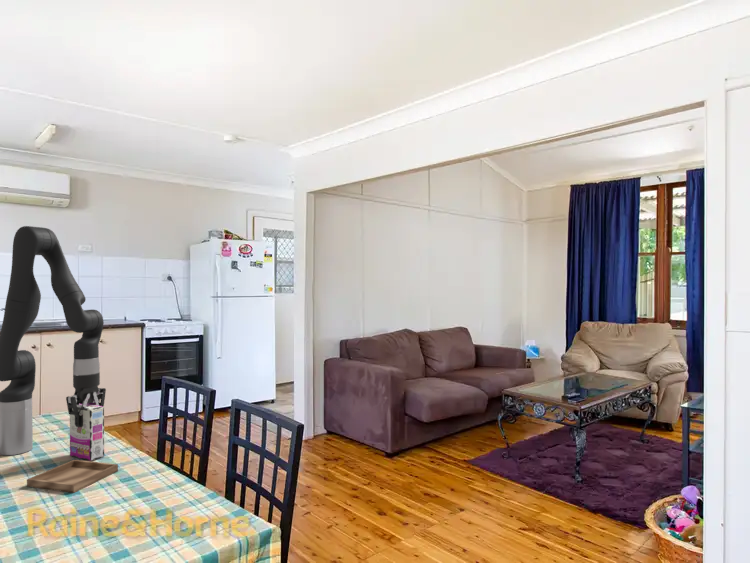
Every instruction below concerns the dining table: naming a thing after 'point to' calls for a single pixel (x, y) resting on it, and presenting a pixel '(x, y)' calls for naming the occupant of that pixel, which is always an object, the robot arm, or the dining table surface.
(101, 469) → the walnut tray
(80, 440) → the candy bar box
